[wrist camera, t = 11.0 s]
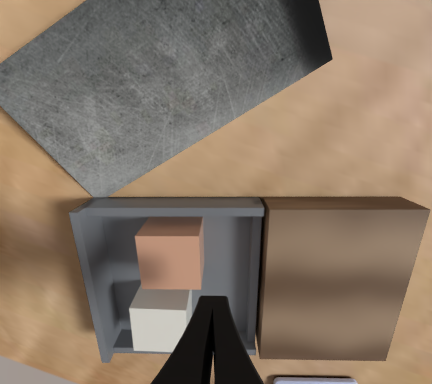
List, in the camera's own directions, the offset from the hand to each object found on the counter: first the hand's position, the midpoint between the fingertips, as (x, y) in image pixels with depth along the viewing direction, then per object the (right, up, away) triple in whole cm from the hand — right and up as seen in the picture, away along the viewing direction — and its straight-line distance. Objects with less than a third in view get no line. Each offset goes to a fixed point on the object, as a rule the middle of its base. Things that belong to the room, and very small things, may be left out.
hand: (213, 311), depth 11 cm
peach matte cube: (-3, +1, +3) cm, 5 cm away
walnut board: (+9, -1, +7) cm, 11 cm away
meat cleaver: (+4, +17, +3) cm, 17 cm away
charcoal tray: (-3, -1, +8) cm, 8 cm away
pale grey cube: (-4, -4, +5) cm, 8 cm away
